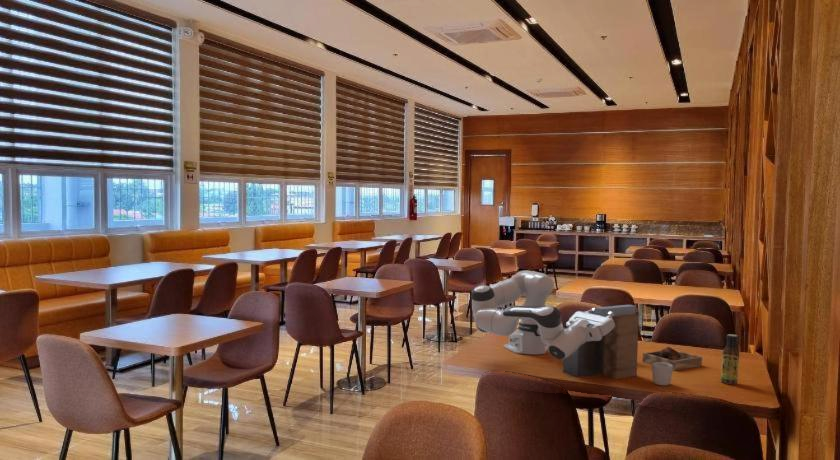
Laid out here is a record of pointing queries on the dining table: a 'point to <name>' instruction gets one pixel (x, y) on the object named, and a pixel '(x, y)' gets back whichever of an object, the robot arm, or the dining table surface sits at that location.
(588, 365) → the dark gray box
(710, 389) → the dining table surface
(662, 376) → the cup
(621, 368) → the post
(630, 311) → the rail
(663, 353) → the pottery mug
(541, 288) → the robot arm
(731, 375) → the sauce bottle
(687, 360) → the caddy
